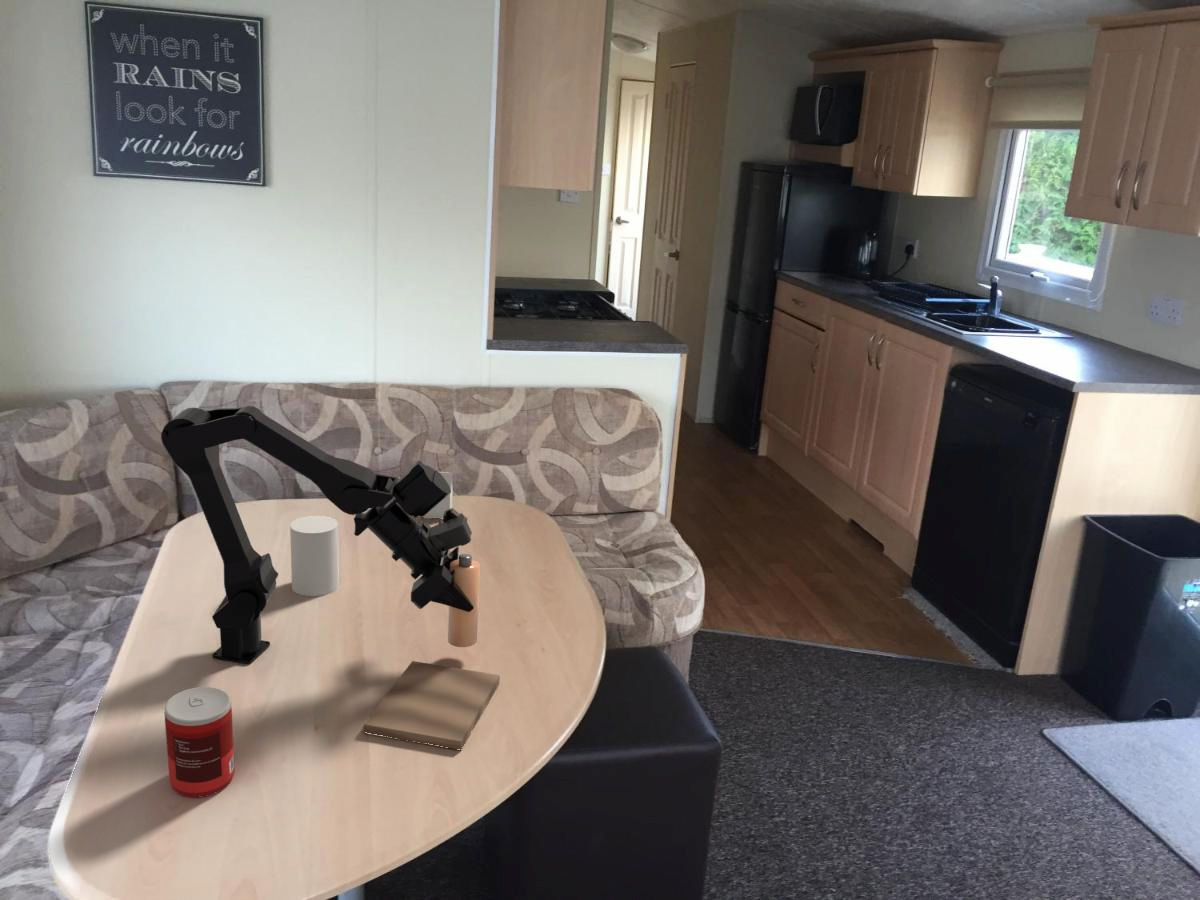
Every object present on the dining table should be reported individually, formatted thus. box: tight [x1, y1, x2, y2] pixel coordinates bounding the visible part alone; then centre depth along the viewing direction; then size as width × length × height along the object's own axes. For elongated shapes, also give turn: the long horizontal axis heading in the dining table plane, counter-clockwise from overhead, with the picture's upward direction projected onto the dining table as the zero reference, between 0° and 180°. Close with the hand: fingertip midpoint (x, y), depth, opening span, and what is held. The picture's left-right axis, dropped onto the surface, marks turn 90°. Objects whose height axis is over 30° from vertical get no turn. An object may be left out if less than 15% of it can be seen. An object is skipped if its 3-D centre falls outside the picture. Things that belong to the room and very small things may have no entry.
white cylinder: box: [289, 515, 340, 597], centre depth 177 cm, size 8×8×12 cm
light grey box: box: [417, 471, 454, 520], centre depth 214 cm, size 4×7×10 cm, turn 90°
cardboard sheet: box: [363, 660, 501, 751], centre depth 144 cm, size 18×14×2 cm
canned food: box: [164, 686, 235, 798], centre depth 124 cm, size 8×8×11 cm
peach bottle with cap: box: [447, 553, 481, 648], centre depth 156 cm, size 5×5×14 cm
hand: (472, 602), depth 156 cm, fingers closed on peach bottle with cap, 5 cm apart
